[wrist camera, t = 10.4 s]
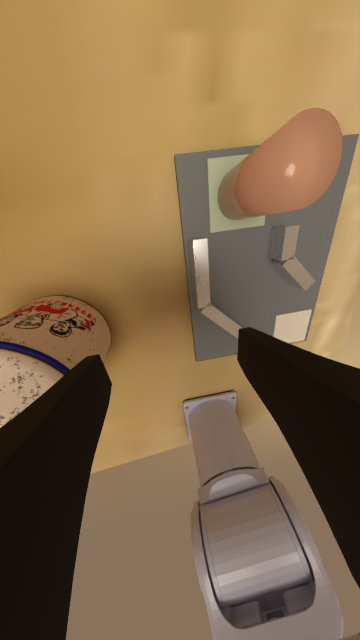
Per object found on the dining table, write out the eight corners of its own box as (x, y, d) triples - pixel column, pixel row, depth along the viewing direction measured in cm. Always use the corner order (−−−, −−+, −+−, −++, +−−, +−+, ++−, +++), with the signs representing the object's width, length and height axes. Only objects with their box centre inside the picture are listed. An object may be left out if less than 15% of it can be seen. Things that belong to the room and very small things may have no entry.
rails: (290, 327, 21) (302, 336, 20) (198, 344, 21) (202, 355, 19) (310, 222, 16) (330, 220, 14) (188, 239, 15) (192, 240, 14)
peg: (257, 217, 15) (329, 205, 9) (217, 222, 15) (263, 214, 9) (261, 164, 13) (353, 104, 7) (216, 169, 13) (272, 111, 7)
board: (303, 339, 23) (307, 341, 22) (195, 359, 22) (196, 362, 22) (353, 136, 14) (361, 132, 13) (174, 156, 13) (175, 153, 12)
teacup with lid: (111, 295, 17) (44, 388, 7) (116, 366, 21) (78, 495, 11) (-33, 286, 15) (-447, 399, 5) (2, 367, 19) (-183, 526, 9)
